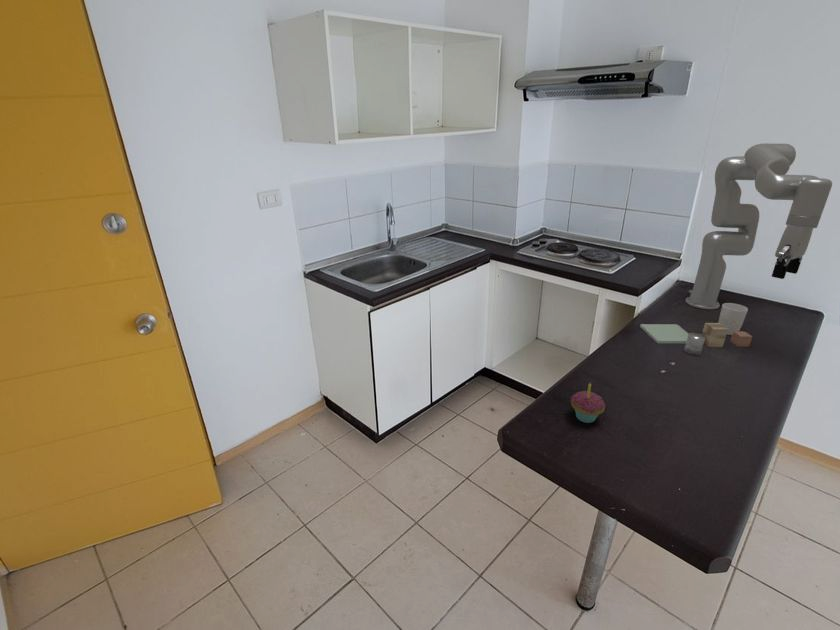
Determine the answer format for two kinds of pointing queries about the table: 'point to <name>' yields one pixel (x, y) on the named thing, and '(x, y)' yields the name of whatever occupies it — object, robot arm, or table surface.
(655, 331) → the sage plate
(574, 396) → the cupcake
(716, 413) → the table surface
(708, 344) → the maple block
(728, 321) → the white cup
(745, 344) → the terracotta cube
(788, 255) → the robot arm
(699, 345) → the grey metal cylinder
